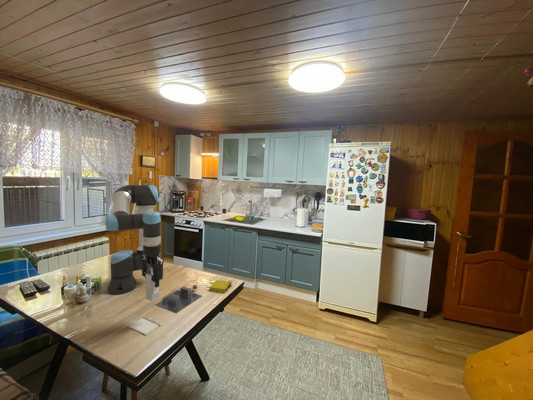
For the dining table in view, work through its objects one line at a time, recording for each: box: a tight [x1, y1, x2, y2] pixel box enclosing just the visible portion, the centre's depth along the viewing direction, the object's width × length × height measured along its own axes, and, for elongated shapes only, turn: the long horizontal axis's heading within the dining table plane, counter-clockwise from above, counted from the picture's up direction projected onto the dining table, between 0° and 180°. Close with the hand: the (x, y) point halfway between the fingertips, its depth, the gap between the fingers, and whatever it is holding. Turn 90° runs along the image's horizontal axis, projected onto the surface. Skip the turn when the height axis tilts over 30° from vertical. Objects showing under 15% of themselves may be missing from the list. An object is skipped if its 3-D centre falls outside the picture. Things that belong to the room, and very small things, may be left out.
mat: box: [128, 317, 162, 336], centre depth 110 cm, size 12×16×1 cm
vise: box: [155, 284, 203, 314], centre depth 130 cm, size 16×23×6 cm
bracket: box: [207, 279, 232, 294], centre depth 144 cm, size 16×8×15 cm
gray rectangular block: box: [145, 269, 165, 302], centre depth 110 cm, size 4×7×12 cm, turn 154°
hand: (152, 291), depth 109 cm, fingers closed on gray rectangular block, 4 cm apart
